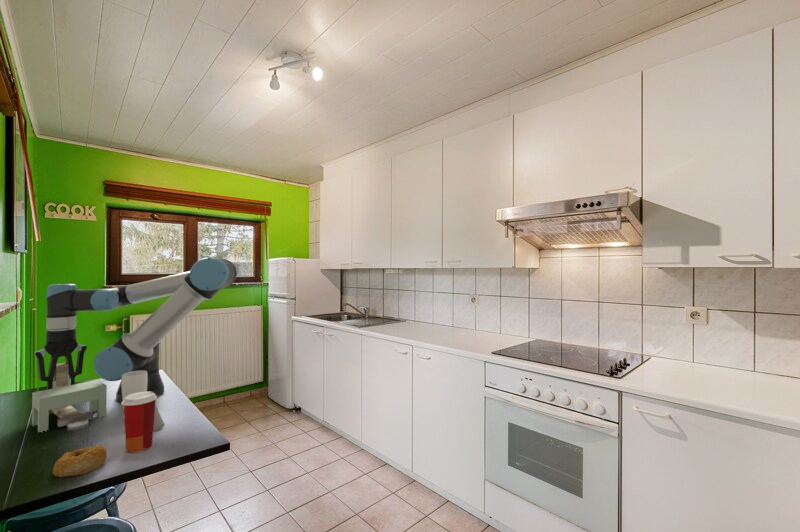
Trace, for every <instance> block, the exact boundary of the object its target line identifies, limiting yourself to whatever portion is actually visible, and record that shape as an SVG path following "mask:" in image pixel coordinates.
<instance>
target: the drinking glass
mask: <svg viewBox="0 0 800 532" xmlns="http://www.w3.org/2000/svg"><path fill="white" fill-rule="evenodd" d="M120 382H121V388H122V399H123V400H124V398H125V397H126V396H128V395H130V394H134V393H138V392H147V383H148V377H147V371H143V370H141V371H132V372H127V373H124V374H122V381H121V380H120ZM122 407H123V410H124V406H123V405H122Z"/></svg>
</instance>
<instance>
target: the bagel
mask: <svg viewBox="0 0 800 532" xmlns="http://www.w3.org/2000/svg"><path fill="white" fill-rule="evenodd" d="M107 458H108V451H107V449H106V448H105V446H103V445H101V444H97V445H95V446H86V447H83V448H80V449H76V450H72V451H67V452H65V453H63V454H62V456H61V457H60V458H59V459H57V461H56V462H55V464H54V465H53V468H52V474H53V475H54V476H55V477H59V478H67V477H75V476H80V475H85V474H88V473H91V472H93V471H94V470H96V469H99V468H100V467H102V466H103V465H104V463H105V462H106V460H107Z"/></svg>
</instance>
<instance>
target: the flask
mask: <svg viewBox="0 0 800 532" xmlns="http://www.w3.org/2000/svg"><path fill="white" fill-rule="evenodd" d="M155 396H157V395H156V394H155ZM157 397H158V396H157ZM164 426H165V422H164V419H163V417H162V416H161V413H160V411H159V409H158V407H157V402H156V401H155V414H154V428H153V433H154V432H156V431H159V430H162V429H163V427H164Z"/></svg>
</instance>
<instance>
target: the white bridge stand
mask: <svg viewBox="0 0 800 532" xmlns="http://www.w3.org/2000/svg"><path fill="white" fill-rule="evenodd" d="M107 388H108V387H107V384H106V383H103V382H101V381H100V380H97V379H96V380H90V381H84V382H80V383H75V384H74V385H69V386H64V387H58V388H53V389H48V390H47V389H43V390H37V391H33V392H32V394H31V396H32V397H31V402H32V403H31V409H32V410H31V413H32V414H31V425H32V427H35V426H34V425H37V433H39V432H41V433H44V432H43V431H45V432H48V431H49V420H50V419H49V416H50V415H49V412H50V411H52V409H57V408H61V407H66V406H70V405H71V406H73V405H74V406H75V405H78V404H79V405H80V404H82V403H87V402H89V405H88V406H89V408H88V411H91V412H96V417H98V418H102V417H106V416H107ZM47 430H48V431H47Z"/></svg>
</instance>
